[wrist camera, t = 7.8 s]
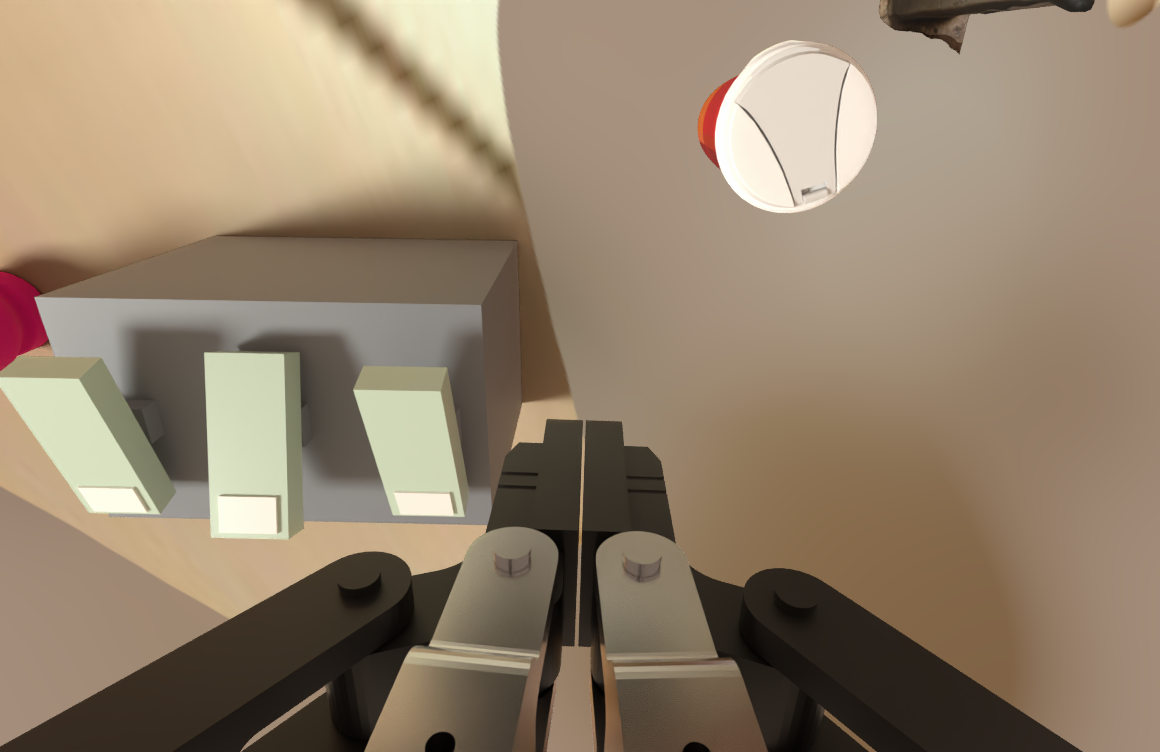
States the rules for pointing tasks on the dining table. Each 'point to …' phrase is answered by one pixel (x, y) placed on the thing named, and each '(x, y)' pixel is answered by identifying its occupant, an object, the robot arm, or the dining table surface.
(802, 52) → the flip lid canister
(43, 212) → the dining table surface
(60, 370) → the block
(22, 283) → the pepper mill
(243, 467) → the block
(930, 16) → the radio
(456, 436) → the rocker
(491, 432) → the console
